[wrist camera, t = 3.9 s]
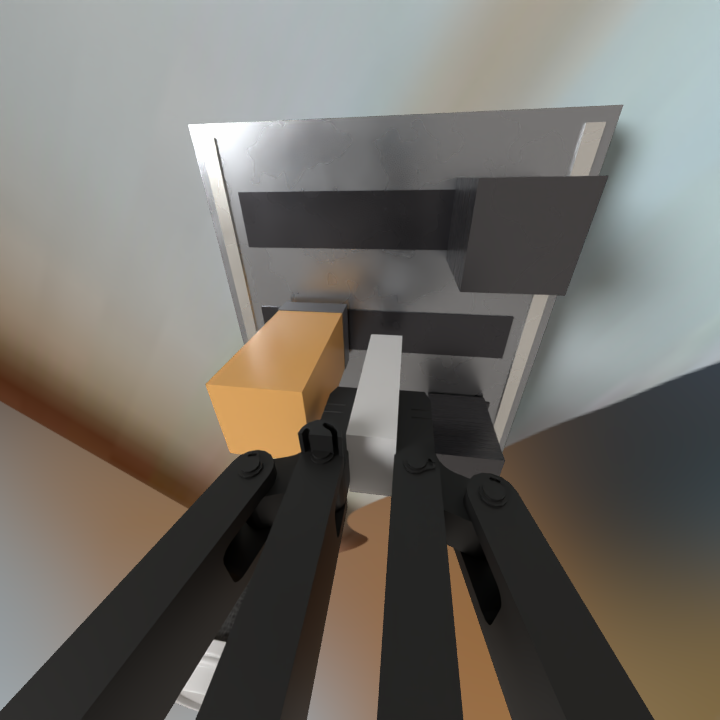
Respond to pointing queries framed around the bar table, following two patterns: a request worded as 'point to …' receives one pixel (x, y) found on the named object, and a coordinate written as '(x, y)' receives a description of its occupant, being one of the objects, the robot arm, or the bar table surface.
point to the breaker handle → (281, 378)
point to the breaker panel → (415, 242)
